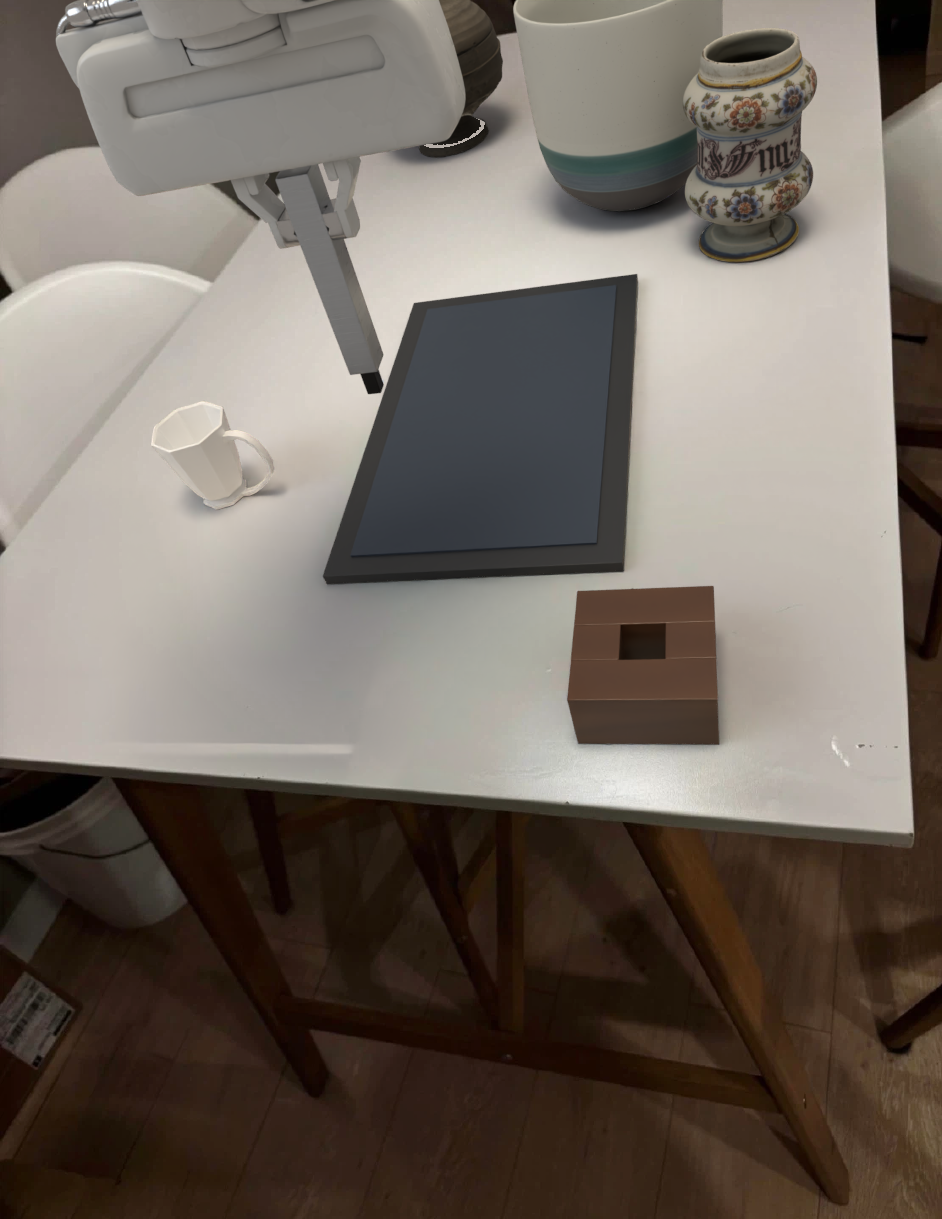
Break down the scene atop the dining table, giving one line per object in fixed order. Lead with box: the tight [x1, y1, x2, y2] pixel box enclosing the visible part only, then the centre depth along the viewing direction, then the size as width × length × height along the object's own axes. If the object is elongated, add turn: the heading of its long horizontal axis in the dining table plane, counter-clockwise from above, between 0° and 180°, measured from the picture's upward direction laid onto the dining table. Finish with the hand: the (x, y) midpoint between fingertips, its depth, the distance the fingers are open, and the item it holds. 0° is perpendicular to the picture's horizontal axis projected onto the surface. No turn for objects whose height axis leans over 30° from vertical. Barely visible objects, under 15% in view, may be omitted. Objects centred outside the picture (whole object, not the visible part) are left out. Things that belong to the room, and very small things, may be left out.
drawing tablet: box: [322, 273, 639, 585], centre depth 81 cm, size 40×24×1 cm, turn 172°
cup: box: [150, 400, 275, 511], centre depth 80 cm, size 7×10×8 cm
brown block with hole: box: [566, 585, 720, 746], centre depth 57 cm, size 9×9×5 cm
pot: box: [418, 0, 504, 158], centre depth 119 cm, size 18×18×20 cm
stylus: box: [274, 164, 385, 395], centre depth 55 cm, size 2×2×15 cm
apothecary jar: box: [683, 27, 818, 263], centre depth 85 cm, size 12×12×18 cm
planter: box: [512, 0, 724, 212], centre depth 95 cm, size 20×20×21 cm
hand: (320, 238), depth 53 cm, fingers closed on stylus, 2 cm apart
